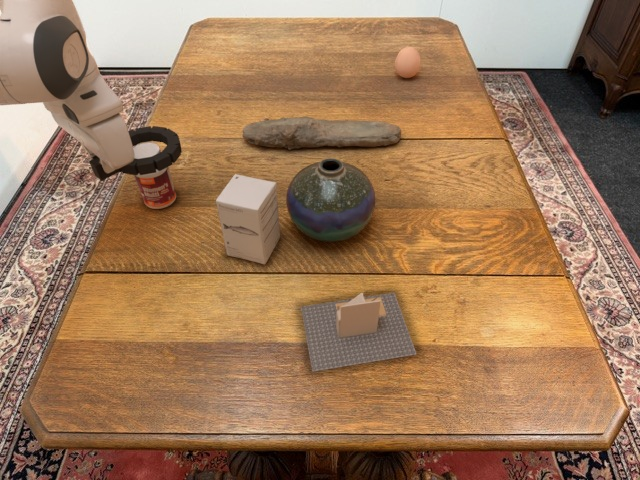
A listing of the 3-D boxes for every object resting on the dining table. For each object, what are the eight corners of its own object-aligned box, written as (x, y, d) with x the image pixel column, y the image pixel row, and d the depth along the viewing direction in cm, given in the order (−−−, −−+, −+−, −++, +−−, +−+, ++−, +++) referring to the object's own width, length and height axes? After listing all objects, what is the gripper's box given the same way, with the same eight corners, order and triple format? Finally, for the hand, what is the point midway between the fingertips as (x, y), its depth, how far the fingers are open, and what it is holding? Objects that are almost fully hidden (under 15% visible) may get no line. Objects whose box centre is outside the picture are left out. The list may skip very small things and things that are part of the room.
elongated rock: (402, 157, 102) (396, 134, 110) (406, 136, 99) (400, 113, 106) (240, 151, 101) (245, 128, 109) (238, 129, 98) (244, 107, 105)
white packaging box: (225, 256, 80) (213, 200, 71) (244, 228, 85) (234, 171, 76) (265, 266, 79) (257, 210, 70) (282, 237, 84) (276, 180, 75)
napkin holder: (334, 318, 71) (334, 287, 66) (378, 312, 72) (382, 280, 67) (338, 338, 69) (339, 307, 64) (384, 330, 70) (389, 299, 64)
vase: (271, 221, 86) (264, 162, 77) (334, 187, 93) (335, 128, 84) (325, 270, 78) (325, 209, 69) (390, 228, 85) (398, 168, 75)
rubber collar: (116, 193, 76) (110, 179, 74) (81, 163, 82) (74, 149, 80) (194, 153, 84) (191, 138, 82) (157, 128, 90) (153, 114, 88)
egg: (392, 71, 128) (395, 41, 123) (417, 71, 128) (421, 42, 122) (394, 82, 124) (397, 52, 118) (419, 82, 123) (424, 53, 118)
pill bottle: (148, 214, 88) (130, 164, 80) (141, 195, 92) (123, 146, 84) (180, 203, 90) (166, 154, 82) (172, 185, 94) (157, 137, 86)
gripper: (21, 74, 73) (57, 149, 82) (84, 122, 63) (118, 201, 72) (60, 60, 76) (91, 134, 86) (127, 104, 66) (153, 182, 76)
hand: (104, 165), depth 79 cm, fingers closed on rubber collar, 2 cm apart
